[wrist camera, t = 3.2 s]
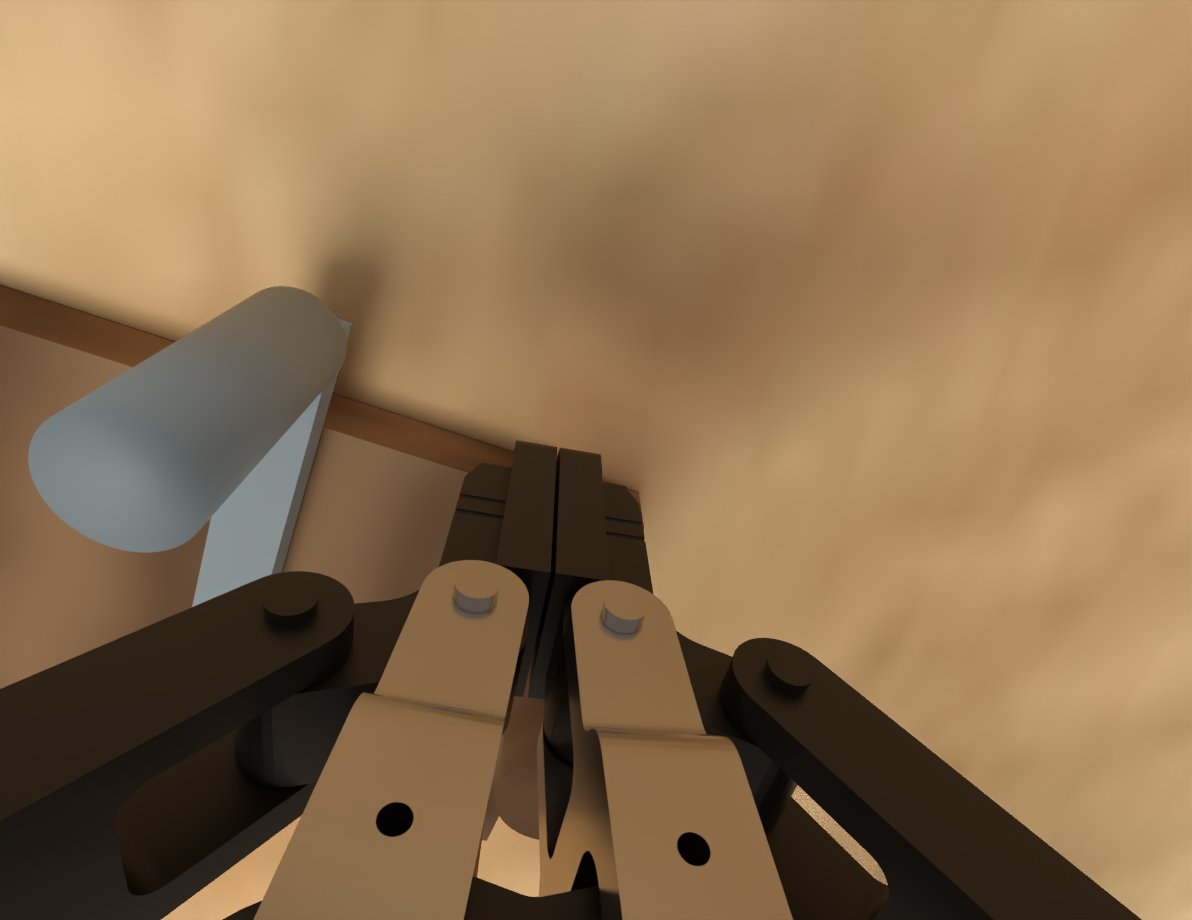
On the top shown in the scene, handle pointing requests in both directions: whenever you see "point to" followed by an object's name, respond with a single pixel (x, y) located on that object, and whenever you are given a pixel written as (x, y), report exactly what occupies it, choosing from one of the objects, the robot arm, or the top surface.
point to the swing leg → (202, 440)
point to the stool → (169, 578)
